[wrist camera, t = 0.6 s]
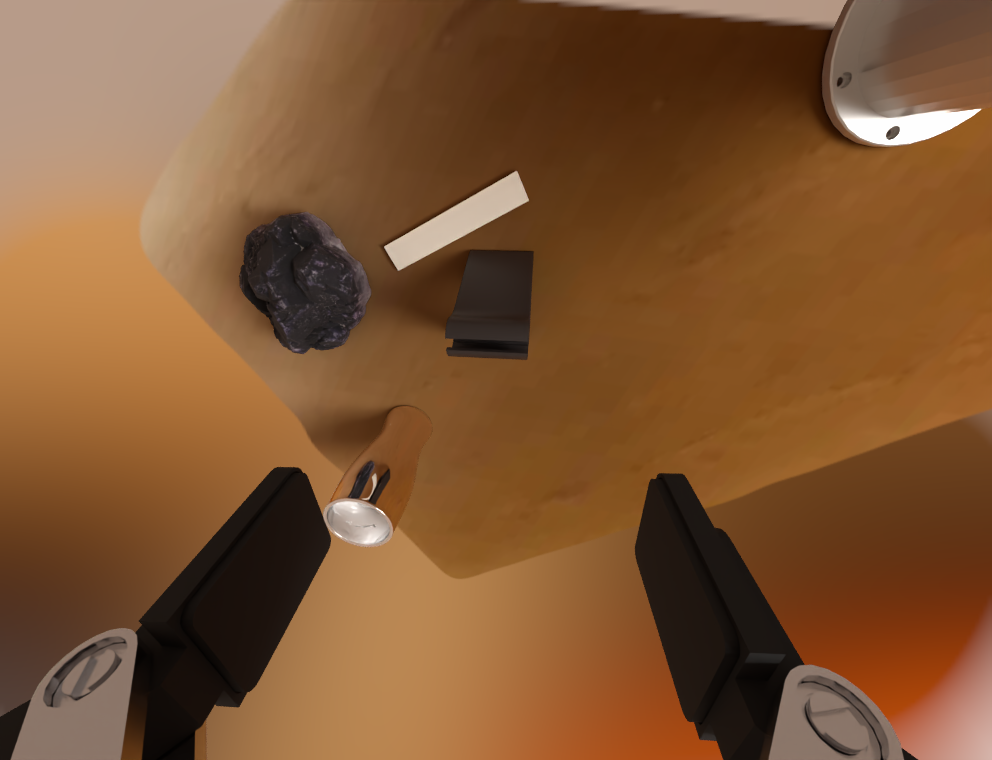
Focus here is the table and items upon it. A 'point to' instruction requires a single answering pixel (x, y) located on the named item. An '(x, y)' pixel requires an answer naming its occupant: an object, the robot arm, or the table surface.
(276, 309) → the black rock
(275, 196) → the table surface
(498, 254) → the phone stand
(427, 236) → the cream panel
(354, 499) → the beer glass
